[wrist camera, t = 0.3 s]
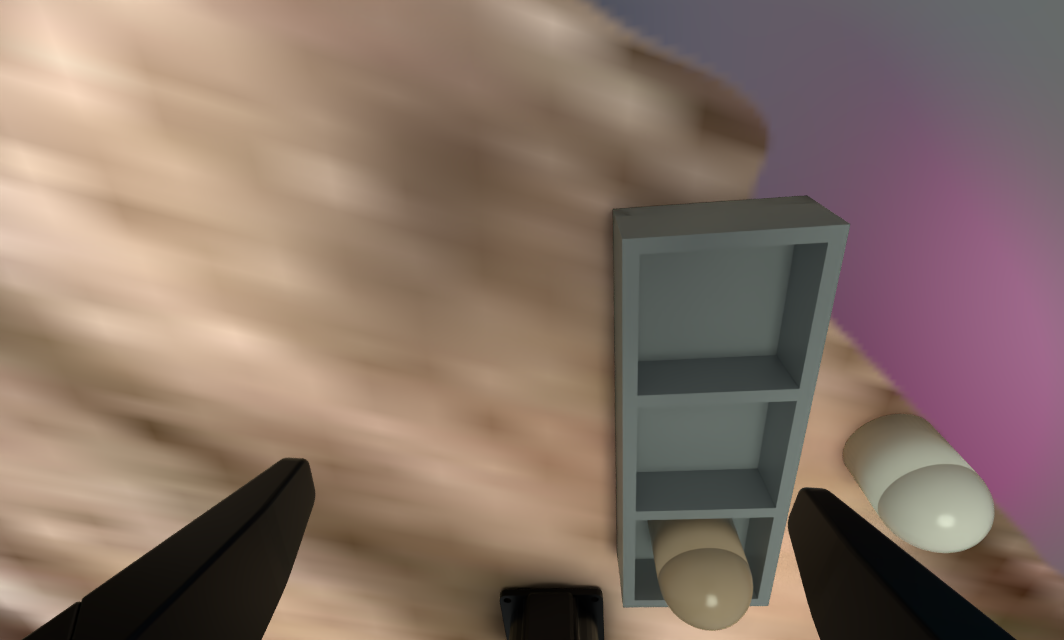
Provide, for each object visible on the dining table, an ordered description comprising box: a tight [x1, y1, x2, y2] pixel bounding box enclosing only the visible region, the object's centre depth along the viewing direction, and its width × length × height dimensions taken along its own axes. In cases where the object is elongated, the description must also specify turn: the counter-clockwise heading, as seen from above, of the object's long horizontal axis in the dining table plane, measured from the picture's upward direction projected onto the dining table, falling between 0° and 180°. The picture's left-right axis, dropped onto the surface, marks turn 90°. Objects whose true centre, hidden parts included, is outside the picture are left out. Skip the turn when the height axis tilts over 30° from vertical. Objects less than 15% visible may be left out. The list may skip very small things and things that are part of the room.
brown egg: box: [648, 518, 753, 631], centre depth 26 cm, size 4×4×6 cm
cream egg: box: [843, 414, 994, 553], centre depth 24 cm, size 4×4×6 cm
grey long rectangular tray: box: [613, 196, 850, 607], centre depth 24 cm, size 21×8×4 cm, turn 5°
